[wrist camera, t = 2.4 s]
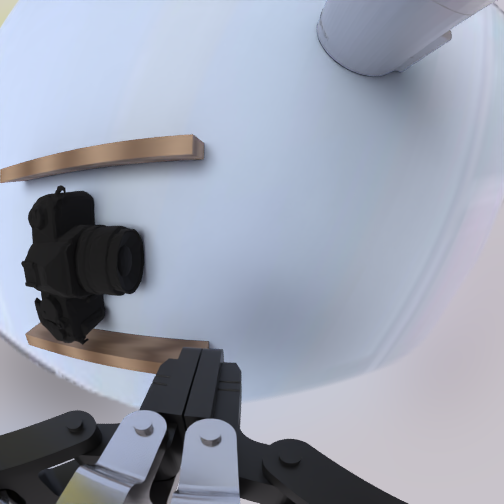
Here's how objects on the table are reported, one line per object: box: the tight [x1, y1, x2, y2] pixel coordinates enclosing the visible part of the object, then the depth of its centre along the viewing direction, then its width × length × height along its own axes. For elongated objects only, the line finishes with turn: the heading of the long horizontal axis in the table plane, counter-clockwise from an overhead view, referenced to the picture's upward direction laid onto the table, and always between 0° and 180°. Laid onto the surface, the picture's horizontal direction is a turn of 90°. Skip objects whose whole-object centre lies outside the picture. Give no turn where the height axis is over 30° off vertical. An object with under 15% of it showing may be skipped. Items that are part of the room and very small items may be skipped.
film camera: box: [21, 186, 144, 345], centre depth 21 cm, size 15×10×9 cm, turn 178°
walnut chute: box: [0, 134, 209, 374], centre depth 23 cm, size 23×21×4 cm
